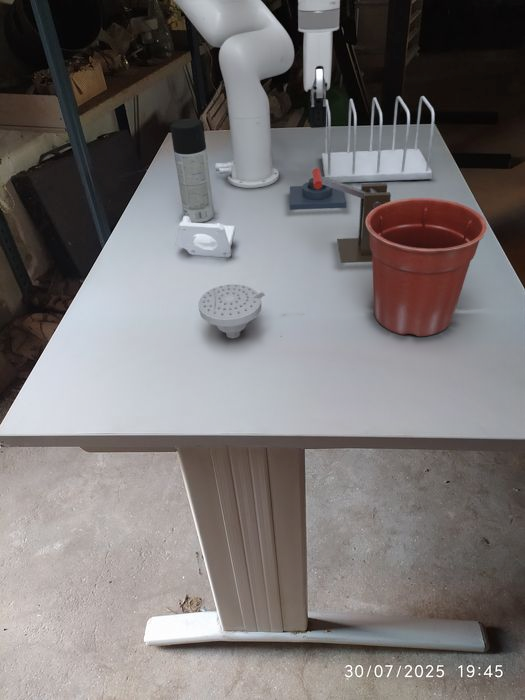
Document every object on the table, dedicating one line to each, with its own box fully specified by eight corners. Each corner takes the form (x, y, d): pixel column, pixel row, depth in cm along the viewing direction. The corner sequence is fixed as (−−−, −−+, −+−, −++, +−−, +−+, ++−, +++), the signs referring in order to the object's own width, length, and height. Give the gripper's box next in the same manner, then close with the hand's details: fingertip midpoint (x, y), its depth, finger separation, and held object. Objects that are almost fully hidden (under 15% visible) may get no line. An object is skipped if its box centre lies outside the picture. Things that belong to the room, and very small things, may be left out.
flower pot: (352, 339, 82) (358, 244, 72) (365, 283, 94) (372, 194, 84) (466, 353, 78) (489, 254, 68) (465, 292, 90) (484, 200, 80)
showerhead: (267, 309, 76) (197, 316, 76) (269, 349, 81) (203, 356, 81) (261, 275, 84) (197, 281, 83) (264, 314, 88) (203, 319, 88)
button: (309, 191, 117) (309, 183, 116) (308, 185, 120) (308, 177, 119) (325, 190, 117) (325, 183, 116) (324, 184, 120) (324, 176, 119)
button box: (290, 214, 117) (289, 196, 115) (289, 195, 125) (289, 178, 123) (345, 211, 117) (346, 194, 114) (341, 193, 125) (342, 176, 122)
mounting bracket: (176, 259, 108) (159, 224, 99) (184, 234, 111) (168, 197, 101) (233, 264, 105) (222, 228, 96) (240, 238, 108) (229, 201, 99)
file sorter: (418, 155, 141) (426, 91, 131) (431, 181, 127) (441, 111, 118) (321, 159, 143) (322, 96, 133) (324, 184, 129) (326, 116, 119)
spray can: (219, 213, 120) (209, 118, 107) (204, 226, 115) (192, 129, 103) (194, 209, 122) (181, 116, 110) (178, 221, 117) (162, 126, 105)
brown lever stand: (340, 267, 99) (343, 201, 91) (336, 244, 106) (339, 180, 98) (407, 265, 98) (415, 198, 90) (398, 242, 105) (406, 177, 97)
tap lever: (311, 190, 91) (316, 177, 90) (310, 177, 96) (315, 164, 94) (381, 214, 94) (388, 202, 92) (377, 200, 98) (383, 188, 97)
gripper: (297, 15, 105) (298, 114, 117) (299, 28, 93) (300, 138, 104) (336, 13, 105) (333, 112, 116) (343, 26, 92) (339, 136, 104)
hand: (317, 123), depth 110 cm, fingers closed
